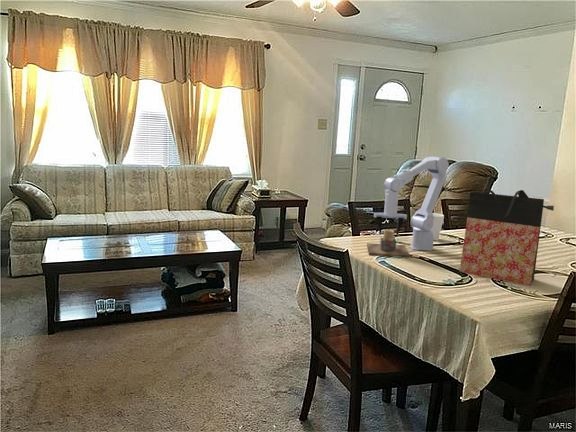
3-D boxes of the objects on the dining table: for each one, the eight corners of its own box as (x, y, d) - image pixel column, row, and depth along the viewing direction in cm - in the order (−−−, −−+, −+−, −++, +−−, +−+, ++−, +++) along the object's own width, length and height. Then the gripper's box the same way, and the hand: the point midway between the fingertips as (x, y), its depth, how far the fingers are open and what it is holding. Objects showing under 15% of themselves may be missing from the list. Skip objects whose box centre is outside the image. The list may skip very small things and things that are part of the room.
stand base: (404, 247, 223) (405, 236, 222) (410, 257, 205) (411, 245, 204) (366, 245, 225) (367, 234, 224) (368, 254, 207) (369, 242, 206)
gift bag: (457, 273, 185) (467, 186, 178) (466, 265, 196) (475, 183, 190) (540, 289, 169) (554, 194, 162) (544, 280, 180) (557, 190, 174)
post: (391, 247, 217) (393, 229, 215) (392, 249, 213) (394, 231, 211) (382, 247, 217) (384, 229, 215) (383, 249, 213) (384, 231, 211)
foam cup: (437, 242, 236) (440, 217, 234) (420, 239, 242) (422, 214, 239) (443, 239, 244) (446, 214, 241) (426, 236, 249) (429, 212, 247)
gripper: (375, 204, 208) (373, 234, 210) (408, 206, 206) (405, 236, 209) (374, 202, 215) (372, 231, 217) (406, 204, 213) (403, 233, 216)
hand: (388, 233), depth 213 cm, fingers open, 7 cm apart
